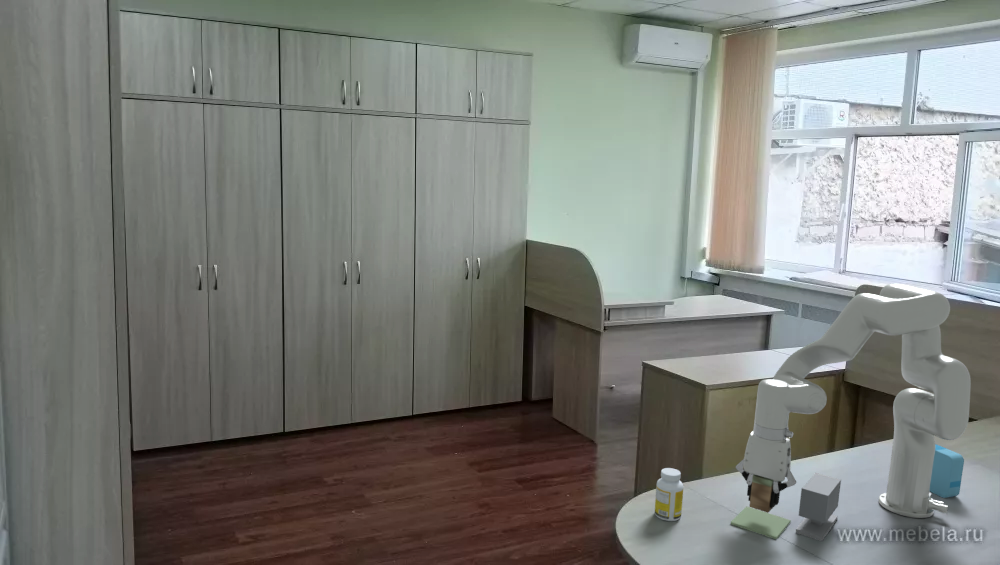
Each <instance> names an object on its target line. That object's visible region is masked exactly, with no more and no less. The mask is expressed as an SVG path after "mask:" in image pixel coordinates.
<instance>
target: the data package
mask: <svg viewBox="0 0 1000 565" xmlns="http://www.w3.org/2000/svg"><path fill="white" fill-rule="evenodd" d="M964 464H965V459H964V457H963V455H962V454H961V453H959V452H957V451H953V450H951V449H948V448H946V447H943V446H941V445H938V444H936V443H935V455H934V461H933V468H932V475H931V482H930V489H929V493H931V494H934V495H936V496H939V497H941V498H943V499H945V498H953V497H957V496H959V495H960V491H961V484H962V477H963V473H964V472H963V470H964V466H965V465H964Z"/></svg>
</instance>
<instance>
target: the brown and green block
mask: <svg viewBox="0 0 1000 565" xmlns="http://www.w3.org/2000/svg"><path fill="white" fill-rule="evenodd" d="M772 491H773V480H770V479H767V478H763V477H760V476H757V475H753V478H752V488H751V497H750V501H749V507H750V508H753V509H757V510H760V511H763V512H766V513H770V511H771V510H772V509H773V508H770V500H771V493H772Z"/></svg>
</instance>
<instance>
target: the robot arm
mask: <svg viewBox="0 0 1000 565" xmlns="http://www.w3.org/2000/svg"><path fill="white" fill-rule="evenodd" d="M950 313H951V305H950V301H949V299H948V298H947V297H946V296H945V295H944V294H942V293H941V292H937V291H934V290H930V289H926V288H921V287H916V286H913V285H908V284H902V283H889V284H887V285H884V286H883V287H882V288H881V290H880V292H879V295H878V294H874V293H869V292H867V293H866V292H863V293H858V294H856V295H855V296H853V297H852V298H851V299H850V301H849V302H847V304H846V305H845V307H843V309H842V311H841V312H840V313H839V315H838V316H837V317H836V319H835V320H834V321H833V322H832V324H831V325H830V327H828V328H827V330H826V332H824V334H823V335H822V336H821V337H819V339H817V340H814V341H813V342H810V343H809V344H807V345H805V346H803V347H802V348H800V349H798V350H796V351H795V352H793V353H792V354H790V356H788V357H787V358H786V360H785V361H784V362H783V363H782V365H781V366H780V367H779V368H778V370H777V371H776V373H775V374H774V376H773V377H772V378H767V379H762V380H761V381H760V382H759V383H758V386H757V394H756V401H755V402H756V404H755V413H754V423H753V430H751V432H750V434H749V437H748V440H747V443H746V447H745V452H744V455H743V456H744V457H743V459H742V460H741V461H740V462H738V464H737V465H735V469H736V470H737V471H738V472H739V473H740V474H741V476H742V477H743V479H744V480H745V482H746V484H747V492H746V495H747V496H748V502H750V497H751V488H752V478H753V475H757V476H760V477H763V478H767V479H770V480H773V491H772V493H771V500H770V508H772V509H774V507H776V505H778V504H779V503H780V502H779V501H780V495H781V492H782V491H783V490H785V489H787V488H790V487H793V486H795V485H796V484H797V480H796V478H795V477H794V475H793V473H792V471H791V462H792V460H791V459H792V450H791V449H792V448H791V447H792V446H791V439H790V438H793V437H794V432H793V431H790V430H789V418H790V417H789V416H790V413H796V414H801V415H802V414H804V415H814V414H817V413H820V412H821V411H823V409H824V408H826V407H825V406H826V405H827V399H828V397H827V393H826V391H825V390H824V389H823V388H822V387H821V386H819V385H818V384H817V383H814V382H811V381H810V380H808V379H805V378H806V377H807V376H808V375H809V374H810V373H811V372H813V371H814V370H816V369H817V368H820V367H822V366H825V365H831V364H838V363H843V362H849V361H852V360H854V359H855V357H856V356H857V354H858V353H860V351H861V349H862V348H863V346H864V345H865V344H866V342H867V341H868V340H869V339H870V337H871V336H872V335H873V334H874V333H875V332H876V333H880V334H883V335H886V336H901V358H900V359H901V362H900V363H901V365H900V367H901V368H900V370H901V376H902V378H903V379H904V381H906V382H907V383H909V384H911V385H912V386H915V387H917V388H915V387H909V388H908V387H907V388H905V389H901V391H899V392H898V393H897V394H896V396H895V398H894V401H893V404H892V405H893V407H892V411H893V412H892V413H893V425H894V426H893V428H894V429H893V430H894V431H893V441H892V447H891V448H892V449H891V455H890V463H889V471H888V476H887V477H888V478H887V485H886V492H884V493H882V494H881V493H880V495H879V496H878V503H879V504H880V505H881V506H882V507H883V508H885V509H886V510H887V511H889V512H892V513H894V514H897V515H900V516H904V517H907V518H914V519H924V518H929V517H933V515H934V512H935V511H938V512H940V513H944V514H947V513H948V510H949V506H948V505H946V504H944V501H941V500H936V499H934V498H932V492H930V491H929V489H930V482H931V475H932V468H933V461H934V455H935V444H936V439H935V437H937V438H940V439H942V440H947V441H954V440H957V439H959V438H961V436H962V435H963V434H964V433H965V431H966V429H967V427H968V425H969V418H970V408H971V407H970V404H971V403H970V401H971V386H972V385H971V383H972V381H971V380H972V379H971V374H970V372H969V370H968V367H967V366H966V365H965V364H964V363H963V362H962V361H960V360H958V359H957V358H954V357H952V356H951V357H950V356H947V355H945V354H943V352H942V333H941V327H940V325H943V323H944V322H945V321H946V320H947V319H948V317H949V315H950ZM785 479H787V481H785Z"/></svg>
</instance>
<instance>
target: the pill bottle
mask: <svg viewBox="0 0 1000 565" xmlns="http://www.w3.org/2000/svg"><path fill="white" fill-rule="evenodd" d="M681 474H682V473H681V471H680V470H679V469H675V468H671V467H665V468H662V469H661V471H660V477H661V478H659V479H657V481H656V485H655V486H656V488H655V500H654V515H655V516H656V517H657V518H659V520H663V521H667V522H675V521H678V520H680V519H681V517H682V514H683V513H682V510H683V498H684V497H683V496H684V484H683V482H682V481H681V480H680V479H681V477H682V476H681Z"/></svg>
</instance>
